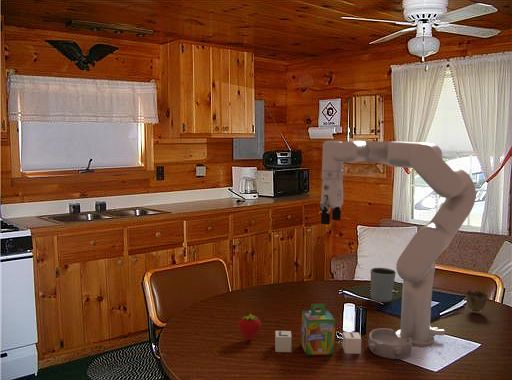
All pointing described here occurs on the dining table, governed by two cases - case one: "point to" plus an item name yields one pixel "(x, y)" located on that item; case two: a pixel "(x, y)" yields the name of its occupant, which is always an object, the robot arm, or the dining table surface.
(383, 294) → the grey cylinder
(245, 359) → the dining table surface
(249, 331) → the strawberry
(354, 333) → the cream numeral block
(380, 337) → the dish
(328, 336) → the chalk box
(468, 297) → the cup
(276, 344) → the white marked cube
